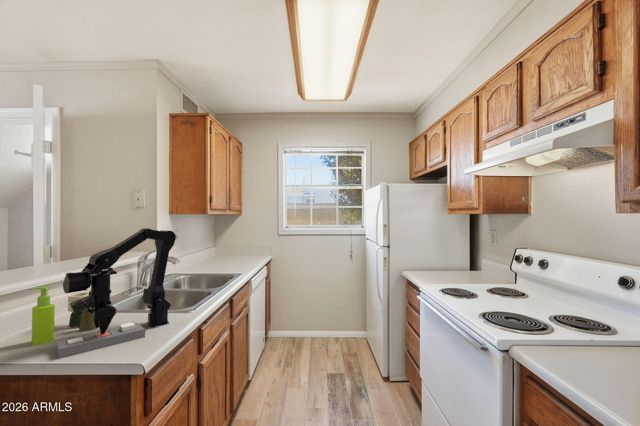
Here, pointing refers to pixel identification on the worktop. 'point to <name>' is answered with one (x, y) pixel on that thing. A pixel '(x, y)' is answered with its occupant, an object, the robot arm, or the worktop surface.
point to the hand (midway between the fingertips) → (100, 330)
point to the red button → (102, 334)
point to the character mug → (74, 317)
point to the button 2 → (127, 327)
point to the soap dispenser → (43, 319)
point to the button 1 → (75, 340)
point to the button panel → (97, 341)
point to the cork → (87, 321)
